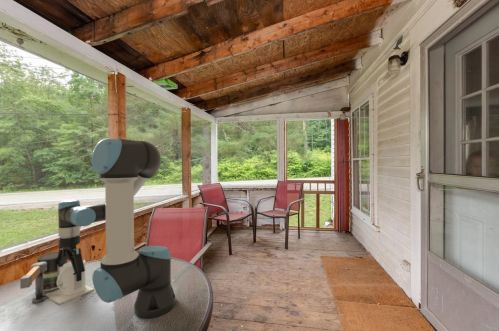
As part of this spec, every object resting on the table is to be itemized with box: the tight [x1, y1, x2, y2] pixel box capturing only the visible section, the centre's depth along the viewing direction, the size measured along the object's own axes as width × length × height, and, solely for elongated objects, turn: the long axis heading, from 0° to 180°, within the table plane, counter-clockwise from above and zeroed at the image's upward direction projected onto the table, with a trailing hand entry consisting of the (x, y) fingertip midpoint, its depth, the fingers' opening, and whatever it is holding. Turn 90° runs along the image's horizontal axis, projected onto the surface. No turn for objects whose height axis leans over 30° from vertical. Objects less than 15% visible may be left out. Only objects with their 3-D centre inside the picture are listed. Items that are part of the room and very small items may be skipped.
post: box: [31, 272, 47, 304], centre depth 99 cm, size 4×4×12 cm
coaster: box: [45, 284, 95, 306], centre depth 104 cm, size 13×13×1 cm
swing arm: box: [19, 262, 47, 290], centre depth 93 cm, size 17×5×4 cm, turn 26°
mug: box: [57, 259, 87, 295], centre depth 104 cm, size 12×8×12 cm
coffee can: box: [36, 251, 63, 292], centre depth 111 cm, size 10×10×14 cm
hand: (70, 284), depth 104 cm, fingers open, 13 cm apart
